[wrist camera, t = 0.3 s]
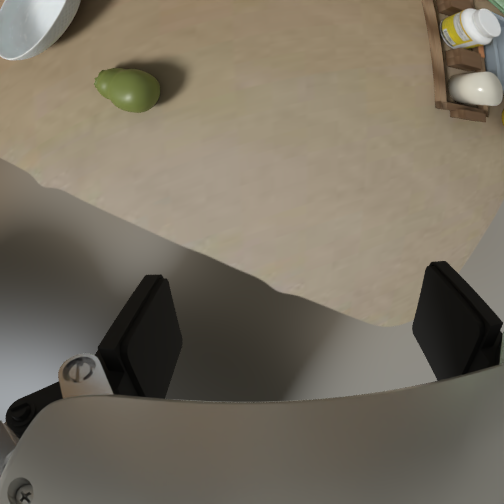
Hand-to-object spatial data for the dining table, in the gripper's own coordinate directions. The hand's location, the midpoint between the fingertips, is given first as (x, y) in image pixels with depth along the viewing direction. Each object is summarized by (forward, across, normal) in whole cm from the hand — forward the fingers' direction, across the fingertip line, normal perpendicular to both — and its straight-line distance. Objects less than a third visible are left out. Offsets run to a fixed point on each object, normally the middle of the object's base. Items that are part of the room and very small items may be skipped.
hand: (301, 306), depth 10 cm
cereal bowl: (+31, +32, -31) cm, 54 cm away
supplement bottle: (+31, -28, -21) cm, 47 cm away
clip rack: (+31, -28, -21) cm, 46 cm away
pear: (+31, +18, -13) cm, 38 cm away
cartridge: (+31, -28, -12) cm, 43 cm away
